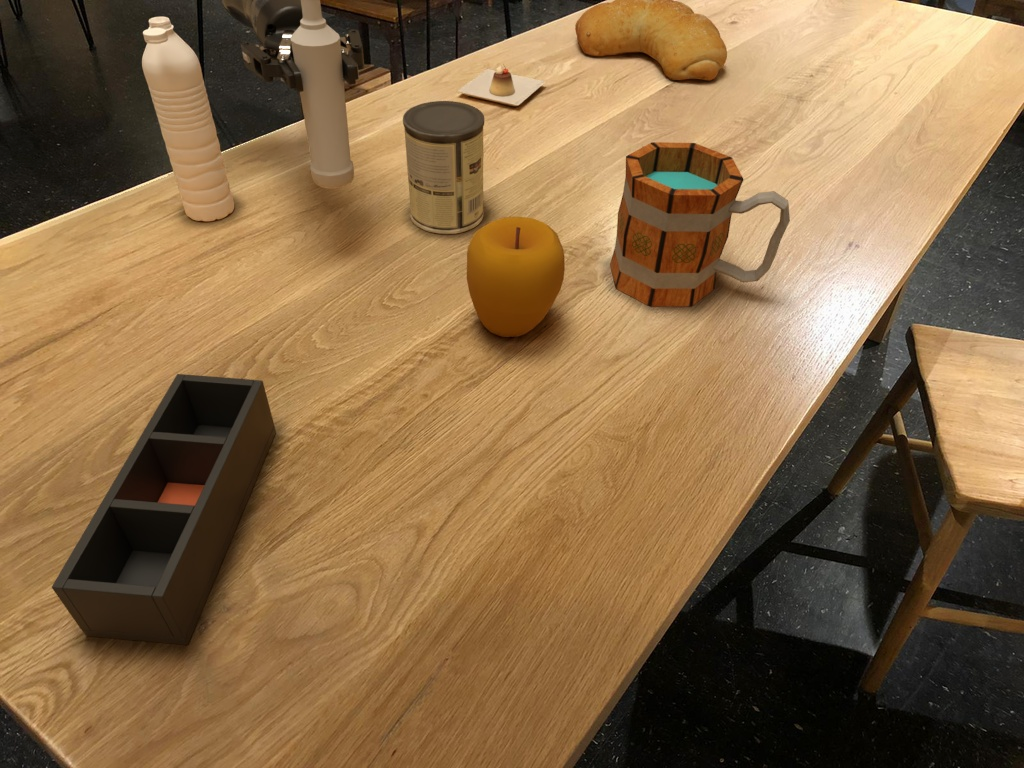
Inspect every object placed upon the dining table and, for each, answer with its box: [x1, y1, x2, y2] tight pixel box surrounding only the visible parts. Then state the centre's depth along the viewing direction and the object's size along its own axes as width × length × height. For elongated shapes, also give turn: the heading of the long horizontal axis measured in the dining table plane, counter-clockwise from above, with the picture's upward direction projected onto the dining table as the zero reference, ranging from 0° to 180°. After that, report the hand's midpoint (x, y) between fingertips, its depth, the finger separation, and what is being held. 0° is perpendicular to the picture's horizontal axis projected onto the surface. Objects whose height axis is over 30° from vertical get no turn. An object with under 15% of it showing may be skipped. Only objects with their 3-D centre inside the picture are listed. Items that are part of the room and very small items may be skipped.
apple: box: [466, 216, 566, 338], centre depth 85 cm, size 11×11×13 cm
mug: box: [609, 141, 791, 307], centre depth 91 cm, size 20×14×15 cm
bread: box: [574, 0, 728, 81], centre depth 150 cm, size 32×20×10 cm, turn 53°
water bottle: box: [141, 16, 235, 222], centre depth 96 cm, size 9×6×25 cm
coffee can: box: [402, 100, 485, 235], centre depth 101 cm, size 10×10×14 cm
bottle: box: [290, 0, 355, 189], centre depth 84 cm, size 5×5×25 cm
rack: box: [51, 373, 277, 646], centre depth 65 cm, size 8×23×7 cm, turn 176°
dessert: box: [456, 63, 547, 107], centre depth 136 cm, size 12×12×5 cm
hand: (325, 79), depth 82 cm, fingers closed on bottle, 5 cm apart
